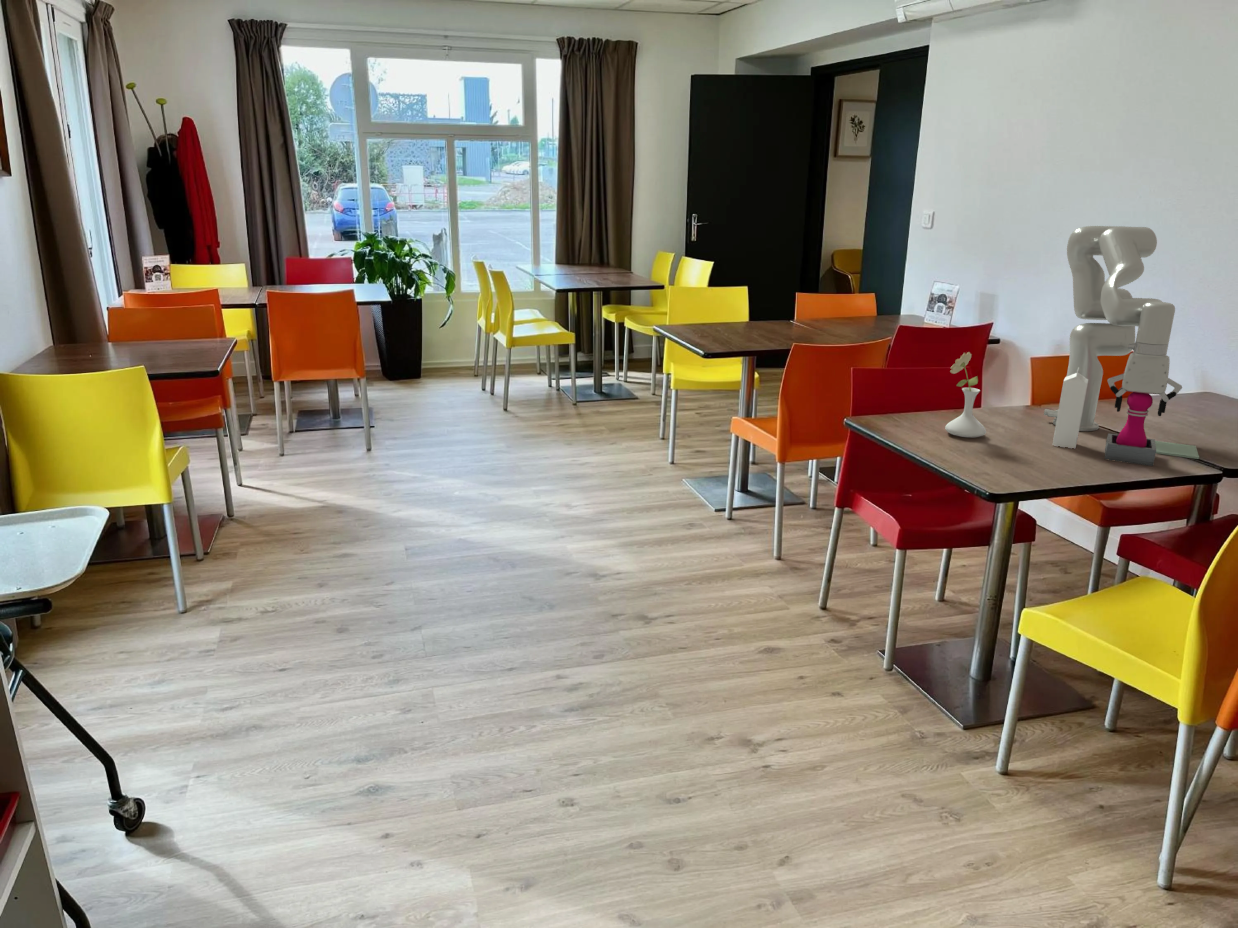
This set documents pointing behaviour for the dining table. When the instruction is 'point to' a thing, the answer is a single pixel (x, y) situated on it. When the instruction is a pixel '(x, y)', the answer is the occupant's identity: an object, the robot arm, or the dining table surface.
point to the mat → (1176, 449)
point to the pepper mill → (1135, 420)
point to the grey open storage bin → (1130, 451)
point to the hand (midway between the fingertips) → (1138, 412)
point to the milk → (1070, 411)
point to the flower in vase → (966, 405)
